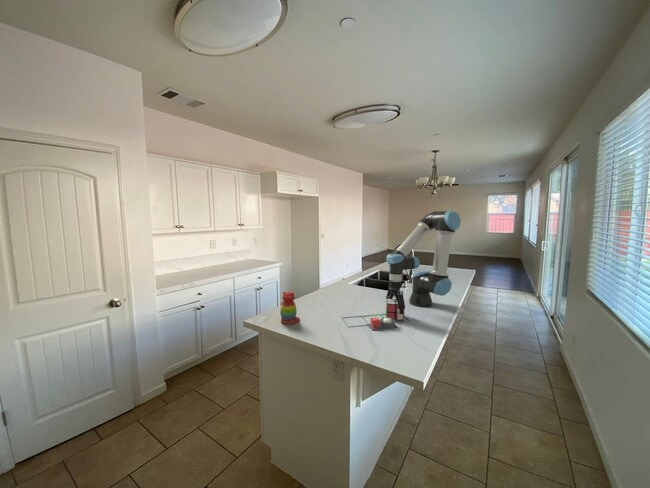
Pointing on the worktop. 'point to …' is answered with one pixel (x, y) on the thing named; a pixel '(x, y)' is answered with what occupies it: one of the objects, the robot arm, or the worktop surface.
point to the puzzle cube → (392, 309)
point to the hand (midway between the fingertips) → (394, 314)
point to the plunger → (387, 320)
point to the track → (367, 322)
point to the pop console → (381, 324)
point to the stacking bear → (288, 309)
